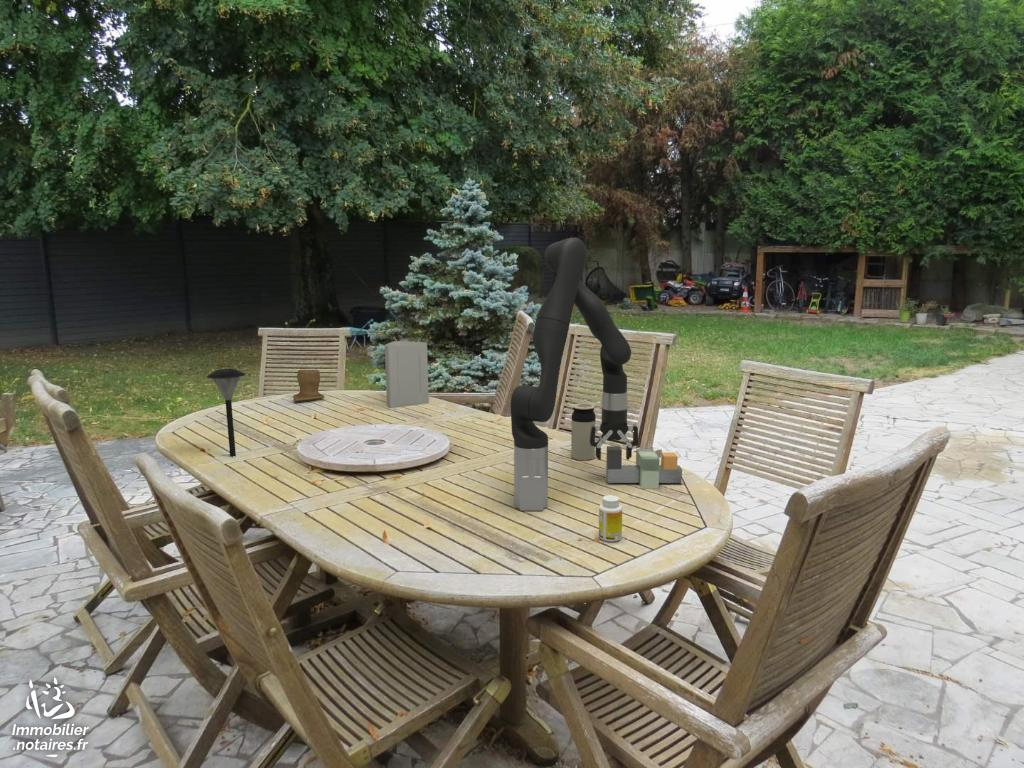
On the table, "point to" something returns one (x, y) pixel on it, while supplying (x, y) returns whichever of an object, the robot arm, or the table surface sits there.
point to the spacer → (669, 460)
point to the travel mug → (582, 431)
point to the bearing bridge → (648, 468)
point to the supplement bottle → (610, 519)
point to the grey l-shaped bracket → (634, 470)
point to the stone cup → (308, 386)
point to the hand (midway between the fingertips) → (613, 459)
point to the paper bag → (406, 373)
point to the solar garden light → (227, 397)
